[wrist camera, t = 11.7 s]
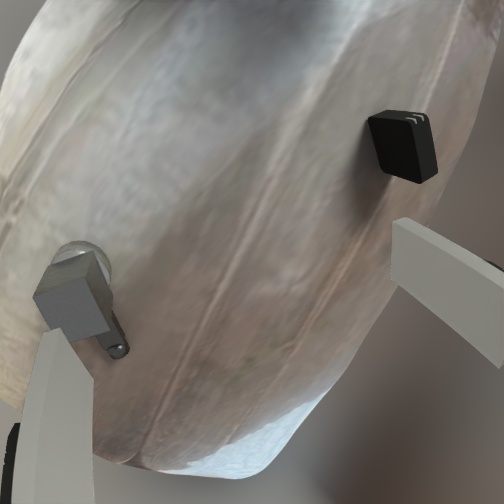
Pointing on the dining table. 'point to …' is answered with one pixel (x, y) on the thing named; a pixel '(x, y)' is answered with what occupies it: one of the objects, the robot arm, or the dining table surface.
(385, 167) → the electronic device
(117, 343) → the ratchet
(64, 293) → the dark grey cube
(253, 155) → the dining table surface
